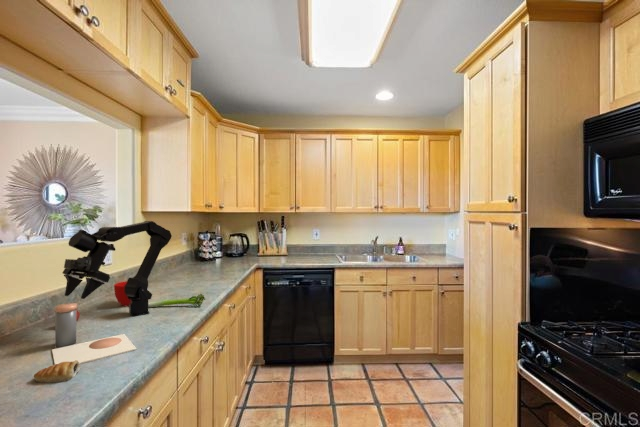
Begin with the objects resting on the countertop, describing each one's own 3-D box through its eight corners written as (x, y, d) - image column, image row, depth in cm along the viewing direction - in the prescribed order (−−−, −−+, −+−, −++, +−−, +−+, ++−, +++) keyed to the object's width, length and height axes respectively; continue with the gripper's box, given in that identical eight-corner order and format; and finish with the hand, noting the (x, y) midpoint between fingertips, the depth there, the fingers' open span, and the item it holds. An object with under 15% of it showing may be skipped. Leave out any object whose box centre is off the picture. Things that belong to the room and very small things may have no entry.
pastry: (28, 387, 81) (28, 371, 81) (41, 374, 87) (41, 360, 87) (72, 380, 84) (72, 366, 84) (82, 369, 90) (82, 355, 90)
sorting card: (124, 334, 115) (124, 333, 115) (136, 349, 103) (136, 348, 103) (52, 350, 102) (52, 349, 102) (55, 370, 89) (55, 368, 89)
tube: (75, 339, 111) (76, 302, 111) (77, 344, 106) (78, 305, 106) (54, 344, 107) (54, 305, 107) (55, 349, 102) (55, 309, 102)
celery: (142, 310, 152) (207, 302, 156) (136, 316, 145) (205, 309, 149) (140, 297, 151) (206, 290, 155) (134, 304, 144) (203, 296, 148)
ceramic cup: (134, 297, 166) (134, 278, 166) (150, 303, 156) (150, 282, 156) (105, 303, 155) (105, 282, 155) (121, 309, 145) (121, 287, 145)
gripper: (60, 247, 120) (35, 288, 113) (92, 249, 113) (68, 293, 106) (87, 258, 129) (66, 297, 122) (119, 261, 122) (98, 302, 115)
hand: (74, 297), depth 116 cm, fingers open, 9 cm apart
